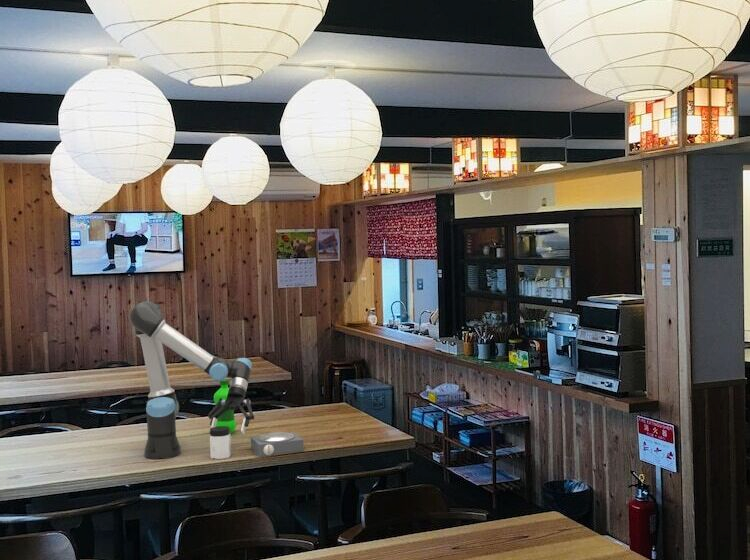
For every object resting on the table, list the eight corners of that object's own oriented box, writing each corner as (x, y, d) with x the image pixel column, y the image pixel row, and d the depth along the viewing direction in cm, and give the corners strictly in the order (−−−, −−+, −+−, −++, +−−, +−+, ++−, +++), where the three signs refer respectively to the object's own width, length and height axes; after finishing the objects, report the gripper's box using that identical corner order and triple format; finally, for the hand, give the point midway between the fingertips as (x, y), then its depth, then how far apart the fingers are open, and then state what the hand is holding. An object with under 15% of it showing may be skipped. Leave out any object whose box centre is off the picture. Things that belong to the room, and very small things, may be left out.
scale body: (259, 457, 337) (259, 445, 337) (251, 448, 352) (250, 436, 352) (303, 451, 344) (303, 439, 343) (293, 442, 359) (293, 431, 359)
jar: (206, 457, 338) (204, 429, 338) (219, 453, 345) (217, 425, 345) (222, 460, 334) (221, 431, 333) (235, 455, 341) (234, 427, 340)
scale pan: (263, 444, 338) (263, 442, 338) (255, 436, 352) (255, 434, 352) (298, 439, 344) (298, 438, 344) (289, 432, 358) (288, 430, 358)
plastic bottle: (226, 436, 374) (223, 382, 373) (210, 434, 381) (208, 381, 379) (241, 432, 382) (239, 379, 381) (226, 429, 389) (224, 377, 387)
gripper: (267, 395, 357) (257, 437, 343) (213, 394, 361) (201, 436, 347) (262, 385, 351) (253, 428, 337) (208, 385, 356) (196, 427, 342)
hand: (227, 432), depth 342 cm, fingers open, 13 cm apart
